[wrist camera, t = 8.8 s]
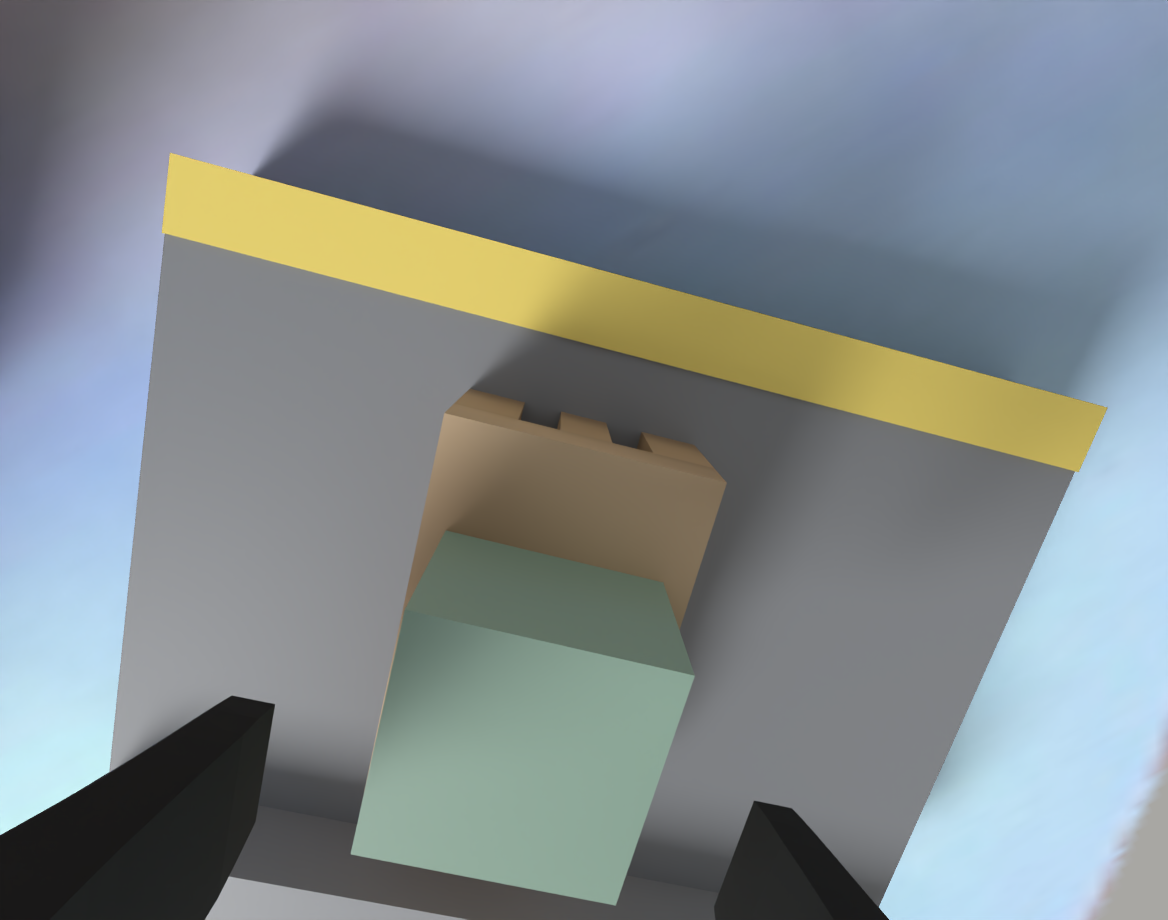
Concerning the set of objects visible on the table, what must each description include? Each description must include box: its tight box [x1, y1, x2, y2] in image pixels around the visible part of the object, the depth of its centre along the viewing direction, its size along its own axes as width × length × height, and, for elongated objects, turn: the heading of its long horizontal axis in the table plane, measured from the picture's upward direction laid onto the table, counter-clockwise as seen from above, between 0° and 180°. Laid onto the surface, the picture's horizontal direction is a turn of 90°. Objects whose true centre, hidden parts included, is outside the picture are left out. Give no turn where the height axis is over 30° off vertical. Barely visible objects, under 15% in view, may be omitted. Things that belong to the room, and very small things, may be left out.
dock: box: [109, 153, 1107, 920], centre depth 16 cm, size 16×20×5 cm
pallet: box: [361, 389, 727, 805], centre depth 14 cm, size 9×5×3 cm, turn 165°
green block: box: [351, 531, 695, 906], centre depth 11 cm, size 4×4×3 cm
